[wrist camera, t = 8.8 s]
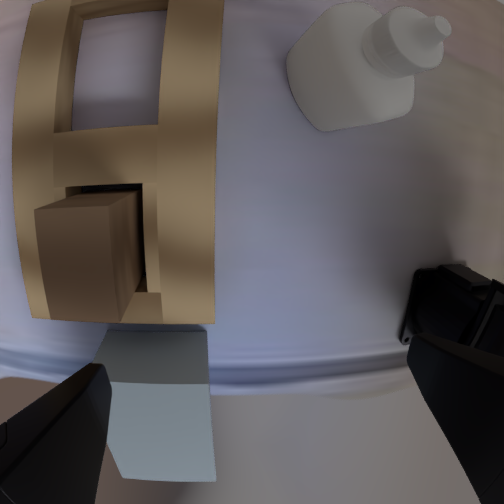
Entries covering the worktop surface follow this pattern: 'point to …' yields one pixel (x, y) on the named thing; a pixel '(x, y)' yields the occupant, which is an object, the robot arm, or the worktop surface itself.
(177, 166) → the socket board
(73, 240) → the walnut peg
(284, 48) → the worktop surface
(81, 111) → the worktop surface
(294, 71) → the eye dropper bottle
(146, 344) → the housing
